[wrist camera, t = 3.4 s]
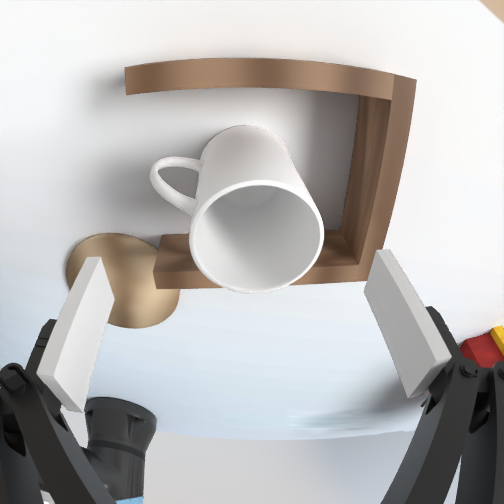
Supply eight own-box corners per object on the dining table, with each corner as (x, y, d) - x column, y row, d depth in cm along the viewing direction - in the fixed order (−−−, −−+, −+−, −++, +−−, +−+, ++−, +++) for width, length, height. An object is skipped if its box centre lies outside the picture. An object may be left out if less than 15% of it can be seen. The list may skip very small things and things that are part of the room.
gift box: (482, 376, 65) (509, 434, 48) (413, 398, 63) (438, 470, 46) (530, 312, 50) (571, 377, 34) (461, 331, 48) (507, 419, 32)
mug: (151, 174, 28) (115, 248, 18) (193, 91, 24) (169, 120, 14) (261, 224, 32) (278, 311, 22) (309, 153, 28) (355, 218, 18)
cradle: (165, 250, 33) (156, 289, 28) (145, 63, 22) (124, 67, 17) (353, 245, 34) (372, 280, 30) (382, 71, 23) (416, 79, 19)
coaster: (88, 322, 39) (86, 326, 38) (54, 236, 31) (51, 240, 30) (186, 324, 40) (186, 328, 39) (171, 230, 32) (170, 234, 31)
